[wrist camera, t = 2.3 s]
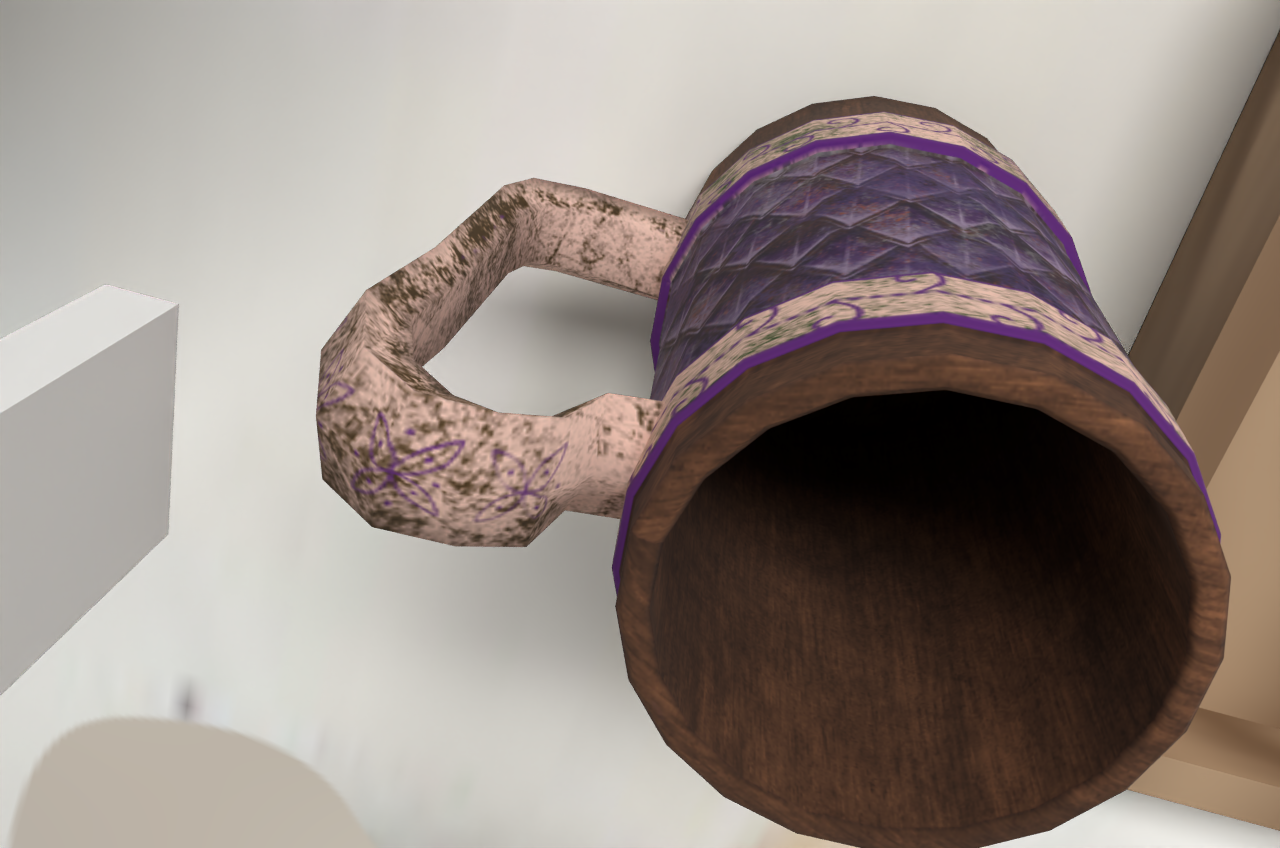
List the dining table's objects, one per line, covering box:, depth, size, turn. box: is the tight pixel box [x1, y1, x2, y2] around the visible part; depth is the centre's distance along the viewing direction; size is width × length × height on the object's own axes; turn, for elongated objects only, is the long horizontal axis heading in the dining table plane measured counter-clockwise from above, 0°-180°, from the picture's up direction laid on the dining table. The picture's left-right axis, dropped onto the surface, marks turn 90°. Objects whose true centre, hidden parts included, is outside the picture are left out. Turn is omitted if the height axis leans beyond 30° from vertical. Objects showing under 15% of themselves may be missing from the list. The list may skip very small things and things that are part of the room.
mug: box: [316, 96, 1231, 848], centre depth 16 cm, size 10×7×12 cm
